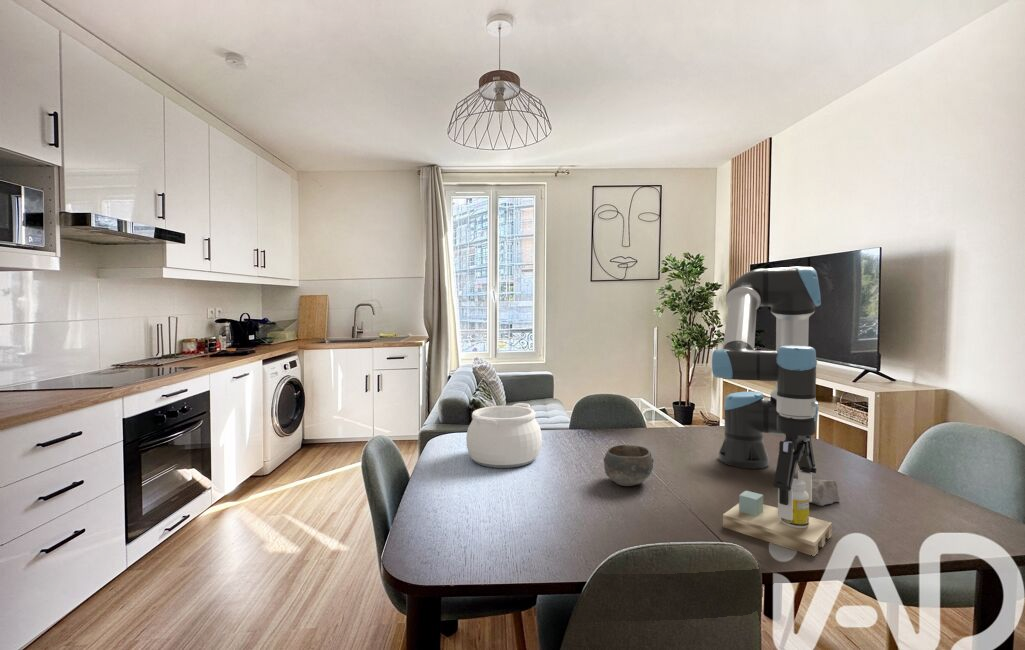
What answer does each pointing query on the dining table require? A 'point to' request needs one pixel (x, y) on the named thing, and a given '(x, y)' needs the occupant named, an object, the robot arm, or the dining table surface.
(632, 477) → the bowl
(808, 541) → the pallet
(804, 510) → the supplement bottle
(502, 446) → the pot
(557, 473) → the dining table surface
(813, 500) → the stone
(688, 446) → the dining table surface
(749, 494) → the pale blue cube
